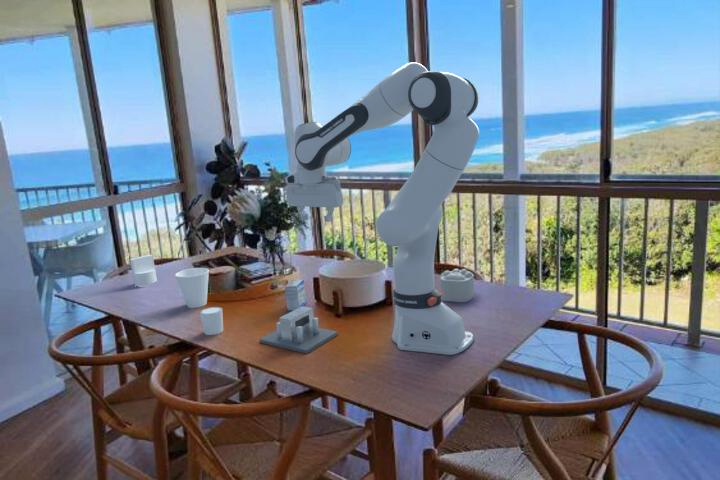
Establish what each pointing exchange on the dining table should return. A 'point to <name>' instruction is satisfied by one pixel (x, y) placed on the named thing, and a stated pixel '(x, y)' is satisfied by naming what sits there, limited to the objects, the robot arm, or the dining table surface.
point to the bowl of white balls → (457, 285)
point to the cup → (194, 286)
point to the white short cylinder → (212, 320)
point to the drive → (296, 323)
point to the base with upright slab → (143, 270)
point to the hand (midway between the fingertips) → (316, 220)
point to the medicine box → (295, 294)
